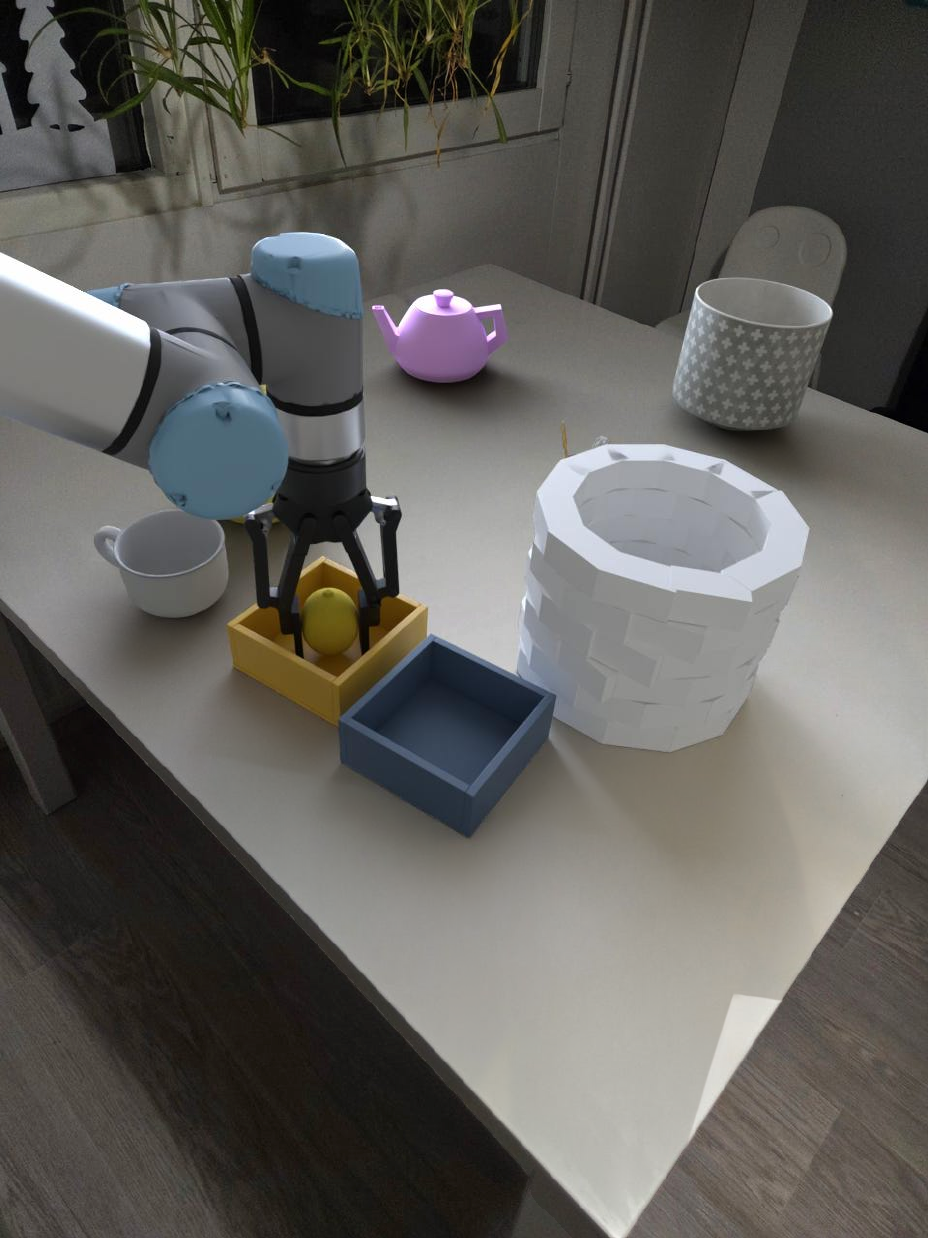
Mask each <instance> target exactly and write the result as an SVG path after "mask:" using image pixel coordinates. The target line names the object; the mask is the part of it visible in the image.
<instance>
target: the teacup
mask: <svg viewBox="0 0 928 1238" xmlns="http://www.w3.org/2000/svg"><path fill="white" fill-rule="evenodd" d="M107 539H108V540H110V541H112V542H113V546H111V544H110V543H109V542H108V540H107ZM93 545H94V547H95V549H96V551H97V552H98V554H99V556H101V557H102V558H103V559H104V560H105V561H106V562H108V563H109V564H110V565H112V566H114V567H116V568H117V569H118V570H119V573H120V576H121V579H122V582H123V585H124V587H125V590H126V592H127V594H128V596H129V598H130V599H131V600H132V602H133V603H134V604H135V605H136V606H137V607H138V608H139V609H140V610H142V611H144V612H145V613H148V614H150V615H153V616H157V617H161V618H172V619H173V618H175V619H177V618H178V619H179V618H186V617H190V616H194V615H197V614H198V613H201V612H203V611H205V610H206V609H208V608H210V607H211V606H212V605H214V604H215V603H217V601H218V600H219V599H220V598H222V595H223V594H224V592H225V591H226V587H227V585H228V582H229V574H230V573H229V561H228V560H229V559H228V553H227V549H226V535H225V532H224V529H223V527H222V525H221V523H219V521H218V520H209V519H203V518H199V517H195V516H192V515H190V514H188V513H186V512H184V511H183V510H181V509H180V508H176V509H175V508H173V509H164V510H159V511H154V512H151V513H149V514H145V515H143V516H141V517H139V518H136V519H135V520H134V521H132V522H130V523H129V524H128V525H126V526H125V527H124V528H123V529H120V528H117V527H115V526H112V525H105V526H102V527H100V528H99V529H98V530H97V531H96V532H95V534H94V536H93Z"/></svg>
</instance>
